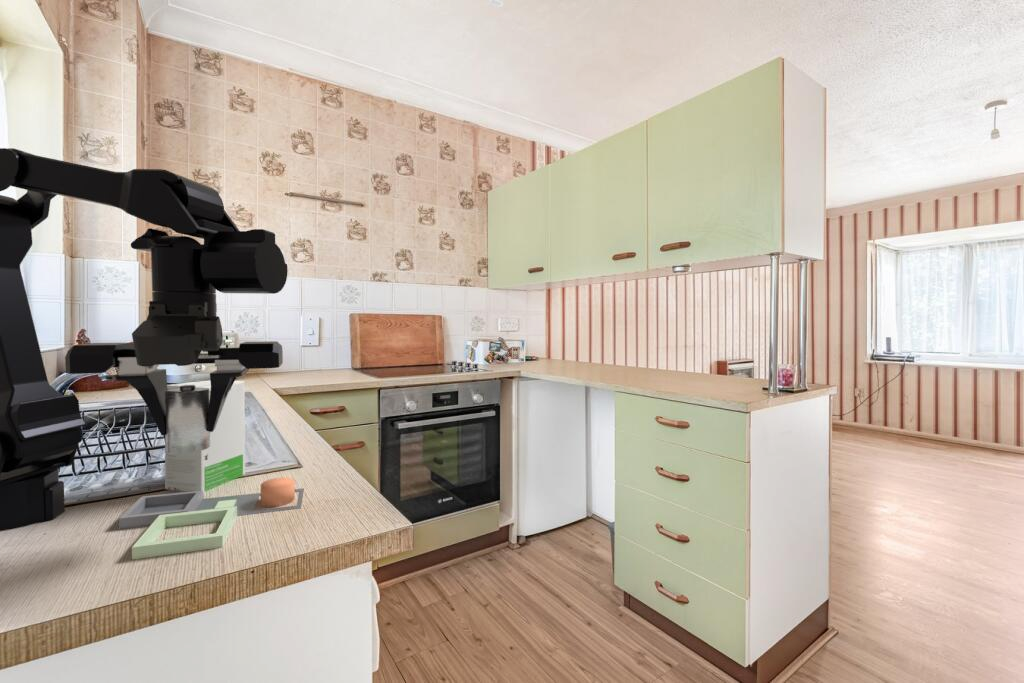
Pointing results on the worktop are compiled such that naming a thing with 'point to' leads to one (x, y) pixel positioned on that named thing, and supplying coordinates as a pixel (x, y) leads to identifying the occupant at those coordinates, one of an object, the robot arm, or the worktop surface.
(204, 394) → the cell
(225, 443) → the skincare box
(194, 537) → the pale green square tray
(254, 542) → the worktop surface
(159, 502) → the checker plate
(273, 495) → the cylinder
